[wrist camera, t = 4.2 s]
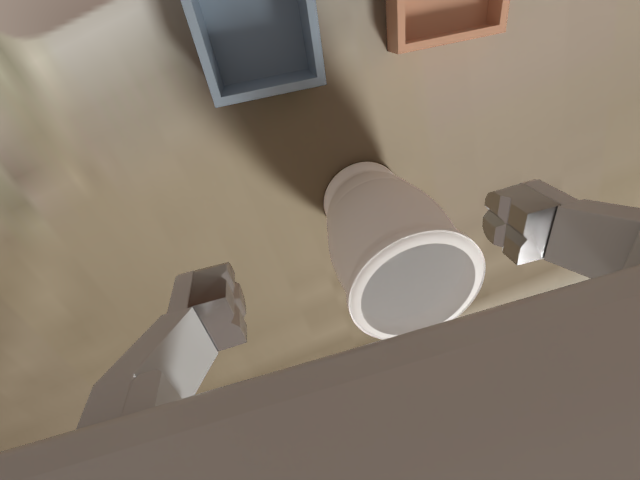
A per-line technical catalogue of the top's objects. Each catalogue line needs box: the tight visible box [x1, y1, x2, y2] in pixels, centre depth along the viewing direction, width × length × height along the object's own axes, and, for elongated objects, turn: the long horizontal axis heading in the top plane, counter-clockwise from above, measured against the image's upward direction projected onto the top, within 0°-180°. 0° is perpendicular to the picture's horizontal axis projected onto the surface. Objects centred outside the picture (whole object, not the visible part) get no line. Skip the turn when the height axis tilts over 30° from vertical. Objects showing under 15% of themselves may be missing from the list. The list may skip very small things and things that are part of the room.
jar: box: [324, 162, 485, 340], centre depth 30 cm, size 11×10×15 cm
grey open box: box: [181, 0, 327, 108], centre depth 24 cm, size 8×8×5 cm
